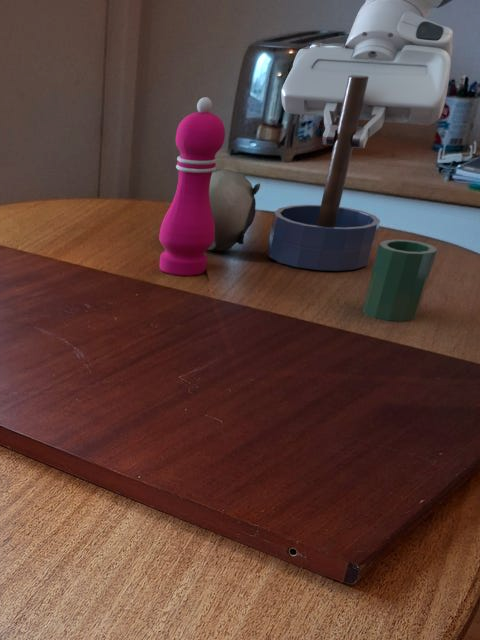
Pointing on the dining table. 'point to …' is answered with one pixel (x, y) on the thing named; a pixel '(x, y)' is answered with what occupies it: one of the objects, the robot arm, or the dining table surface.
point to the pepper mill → (192, 194)
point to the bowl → (322, 238)
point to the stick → (342, 150)
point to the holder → (398, 280)
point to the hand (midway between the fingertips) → (343, 143)
